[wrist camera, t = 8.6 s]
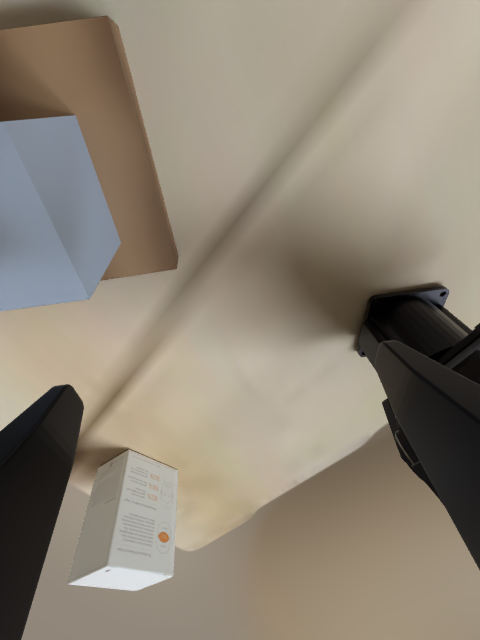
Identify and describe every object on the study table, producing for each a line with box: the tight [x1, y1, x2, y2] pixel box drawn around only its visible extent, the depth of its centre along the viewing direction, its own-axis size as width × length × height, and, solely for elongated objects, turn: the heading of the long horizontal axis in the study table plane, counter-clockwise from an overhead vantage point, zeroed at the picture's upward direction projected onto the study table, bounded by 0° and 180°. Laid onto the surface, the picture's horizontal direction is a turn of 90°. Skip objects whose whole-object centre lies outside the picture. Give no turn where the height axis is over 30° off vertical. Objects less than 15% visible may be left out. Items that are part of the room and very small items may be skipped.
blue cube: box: [0, 115, 121, 311], centre depth 12 cm, size 6×6×6 cm
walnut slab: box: [0, 16, 178, 281], centre depth 15 cm, size 11×11×2 cm
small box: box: [68, 449, 178, 591], centre depth 31 cm, size 8×6×10 cm
